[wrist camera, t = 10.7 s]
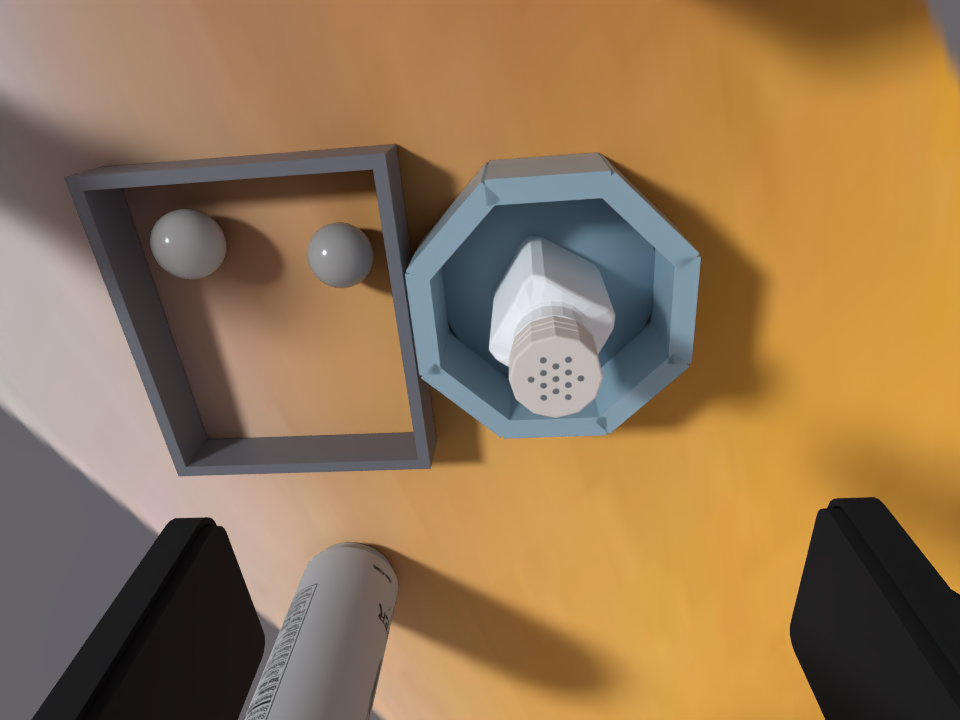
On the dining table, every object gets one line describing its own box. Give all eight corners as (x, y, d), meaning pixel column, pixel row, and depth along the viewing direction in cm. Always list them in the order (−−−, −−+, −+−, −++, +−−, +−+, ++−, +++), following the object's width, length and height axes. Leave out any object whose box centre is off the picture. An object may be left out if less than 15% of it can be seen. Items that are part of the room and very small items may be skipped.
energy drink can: (383, 614, 41) (318, 884, 28) (298, 585, 40) (190, 849, 27) (414, 555, 39) (359, 823, 25) (324, 523, 38) (218, 782, 24)
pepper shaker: (560, 333, 30) (576, 444, 22) (489, 298, 30) (477, 399, 21) (603, 265, 29) (638, 357, 20) (528, 226, 28) (532, 305, 19)
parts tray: (101, 166, 28) (64, 177, 26) (396, 144, 27) (385, 153, 25) (200, 448, 36) (178, 476, 33) (436, 440, 34) (430, 468, 32)
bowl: (410, 166, 28) (392, 186, 24) (681, 146, 26) (709, 163, 23) (439, 394, 33) (428, 441, 29) (665, 385, 32) (685, 432, 28)
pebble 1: (163, 204, 29) (124, 221, 26) (227, 199, 29) (195, 216, 26) (183, 268, 30) (149, 290, 28) (244, 264, 30) (216, 287, 27)
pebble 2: (312, 217, 29) (291, 234, 26) (374, 213, 29) (359, 230, 26) (324, 277, 30) (306, 299, 28) (383, 273, 30) (370, 295, 27)
